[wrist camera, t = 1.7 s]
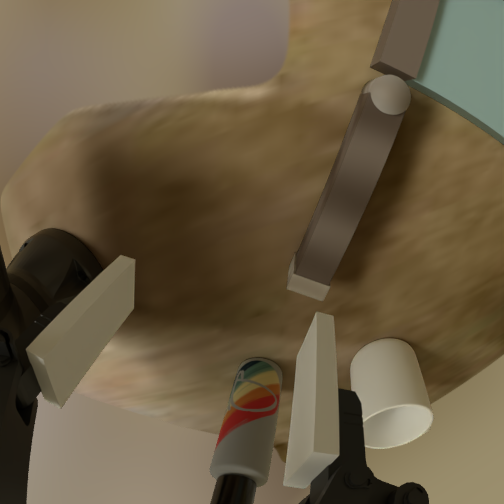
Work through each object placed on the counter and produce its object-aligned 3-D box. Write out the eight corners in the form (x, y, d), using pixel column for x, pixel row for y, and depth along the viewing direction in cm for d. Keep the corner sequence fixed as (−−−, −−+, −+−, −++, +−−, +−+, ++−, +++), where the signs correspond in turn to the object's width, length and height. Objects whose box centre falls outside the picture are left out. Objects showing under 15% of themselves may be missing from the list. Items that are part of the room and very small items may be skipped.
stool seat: (369, 67, 22) (379, 60, 19) (410, -61, 15) (421, -78, 12) (532, 167, 22) (554, 177, 19) (562, 47, 15) (583, 46, 12)
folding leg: (365, 73, 23) (376, 66, 19) (401, 89, 23) (418, 87, 19) (289, 266, 31) (286, 290, 27) (321, 277, 31) (322, 303, 27)
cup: (384, 324, 33) (400, 394, 24) (442, 364, 34) (463, 426, 25) (335, 367, 36) (337, 436, 27) (397, 400, 38) (407, 460, 29)
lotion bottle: (254, 349, 37) (215, 506, 19) (292, 371, 38) (273, 524, 20) (229, 372, 39) (186, 513, 22) (265, 392, 40) (238, 530, 22)
